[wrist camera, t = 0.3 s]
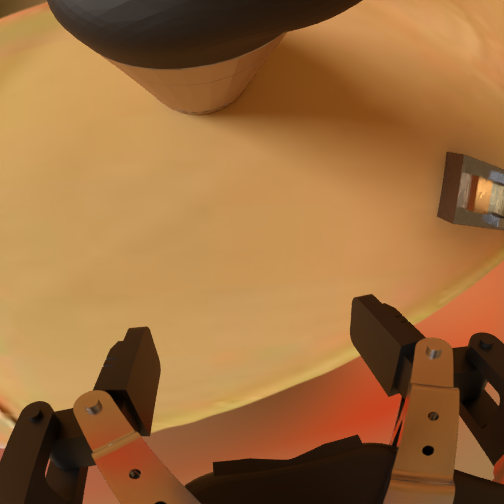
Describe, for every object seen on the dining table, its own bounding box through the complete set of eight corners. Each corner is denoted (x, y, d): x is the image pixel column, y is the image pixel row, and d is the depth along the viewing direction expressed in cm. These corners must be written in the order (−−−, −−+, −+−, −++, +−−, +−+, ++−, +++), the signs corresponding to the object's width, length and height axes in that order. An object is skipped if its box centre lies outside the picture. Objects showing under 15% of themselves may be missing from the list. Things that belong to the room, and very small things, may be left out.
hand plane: (437, 216, 31) (464, 229, 26) (446, 151, 28) (476, 156, 24) (517, 228, 34) (538, 238, 30) (526, 181, 32) (548, 189, 27)
